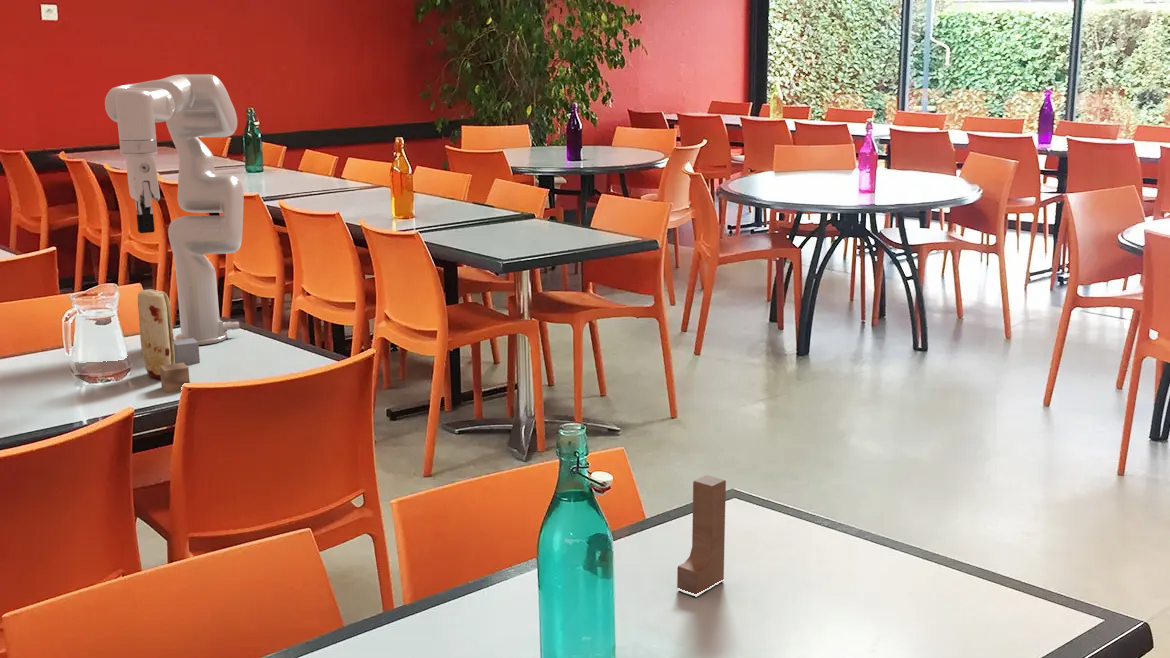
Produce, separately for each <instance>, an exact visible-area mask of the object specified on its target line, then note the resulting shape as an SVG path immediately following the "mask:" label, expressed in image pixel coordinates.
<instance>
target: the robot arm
mask: <svg viewBox="0 0 1170 658" xmlns="http://www.w3.org/2000/svg"><path fill="white" fill-rule="evenodd" d="M104 106H105V107H104V109H105V112H106V114H107V116H108V117H109V118H110V120H112V121H113V122H115V123H117V128H118V131H117V132H118V140H119V150H120V152H119V153H120V156H122V157H125V160H126V174H127V183H128V191H129V196H130V198H131V199H133V200H134V201H135V208H136V223H137V231H138V233H140V234H149V233H150V234H151V233H155V221H154V211H153V200H154V201H159V200H160V199H161V193H160V187H159V178H158V177H159V176H158V169H157V166H156V165H157V164H156V159H155V156H156V155H158V144H157V141H158V140H157V133H156V131H157V129H156V123H163V122H165V123H166V124H165V125H166V127H167V129H168V133H169V135H170V138H171V140H172V142H173V144H174V147H175V149H176V152H177V154H178V160H179V162H178V175H177V176H178V177H177V179H178V180H177V203H178V206H179V207H180V209H181V211H184V212H188V213H209V214H210V213H218V214H219V213H220V214H221V213H222V214H221V215H183V216H179V217H176V218H175V219H173V220H172V221H171V222H170V223H169V226H168V229H167V234H168V239H169V244H170V248H171V251H172V255H173V259H174V261H173V262H174V268H175V277H176V288H177V289H176V290H177V299H178V300H177V301H178V311H179V312H178V313H179V322H180V323H179V324H180V333H179V334H177V335H176V336H175V337H174V340H182V339H190V338H194V339H195V340H196V341H197V342H198V345H199V346H202V345H211V344H216V343H217V344H218V343H220V342H222V341H225V340H227V338H228V333H227V332H228V331H230V330H232V331H233V330H240V322H239V321H223V320H222V319H220V309H219V295H218V285H217V284H218V283H217V273H216V269H215V267H214V265H213V263H212V262H211V260H209V258H208V257H207V256H206V255H223V254H224V255H226V254H227V255H228V254H229V255H230V254H234V253H237V252H238V251H239V250H240V248H241V245H242V242H243V229H244V228H243V226H244V222H243V221H244V204H245V202H244V201H245V199H244V189H243V185H242V182H241V180H240V179H239V178H238V177H237V176H235V175H232V174H215V161H216V160H215V157H214V155H213V153H212V151H211V150H210V148H209V147H208V146H207V145H206V144H205V143H204V142H203V141H202V140H201V139H200V138H226V137H231V136H232V135H234V134H235V132H236V130H237V129H238V116H237V112H236V110H235V107H234V104H233V102H232V101H231V98H230V96H229V93H228V91H227V89H226V87H225V85H224V84H223V82H222V80H220V78H218V77H217V76H216V75H214V74H211V73H209V74H208V73H207V74H202V73H200V74H193V73H192V74H182V73H181V74H174V75H171V76H167V77H163V78H161V79H154V80H153V79H152V80H148V81H143V82H142V81H141V82H136V83H127V84H124V85H123V84H122V85H118V86H115V87H112V88H111V89H109V91H108V92H107V94H106V96H105V98H104Z"/></svg>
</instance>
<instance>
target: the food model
mask: <svg viewBox="0 0 1170 658" xmlns="http://www.w3.org/2000/svg"><path fill="white" fill-rule="evenodd" d="M137 307H138V309H137V310H138V322H139V337H140V346H141V354H142V358H143V362H144V367H145V370H146V372H147V374H148V375H149V376H150V377H151V378H153V379H160V380H161V374H160V366H162V365H169V364H176V363H175V354H174V340H175V338H174V329H173V318H172V310H171V309H172V308H171V302H170V299H169V296H168V293H166V292H165V291H163V290H156V289H153V288H152V289H151V288H149V289H144V290H140V291H139V292H138V294H137Z"/></svg>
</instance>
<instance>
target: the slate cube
mask: <svg viewBox="0 0 1170 658" xmlns="http://www.w3.org/2000/svg"><path fill="white" fill-rule="evenodd" d="M199 347H200V345H198V342H197V341H196V340H195V339H194V338H190V339H182V340H175V339H174V354H175V364H177V363H184V364H185V365H186V366H187V365H193V363H194V364H198V363H199V364H200V363H201V359H200V348H199Z"/></svg>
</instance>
